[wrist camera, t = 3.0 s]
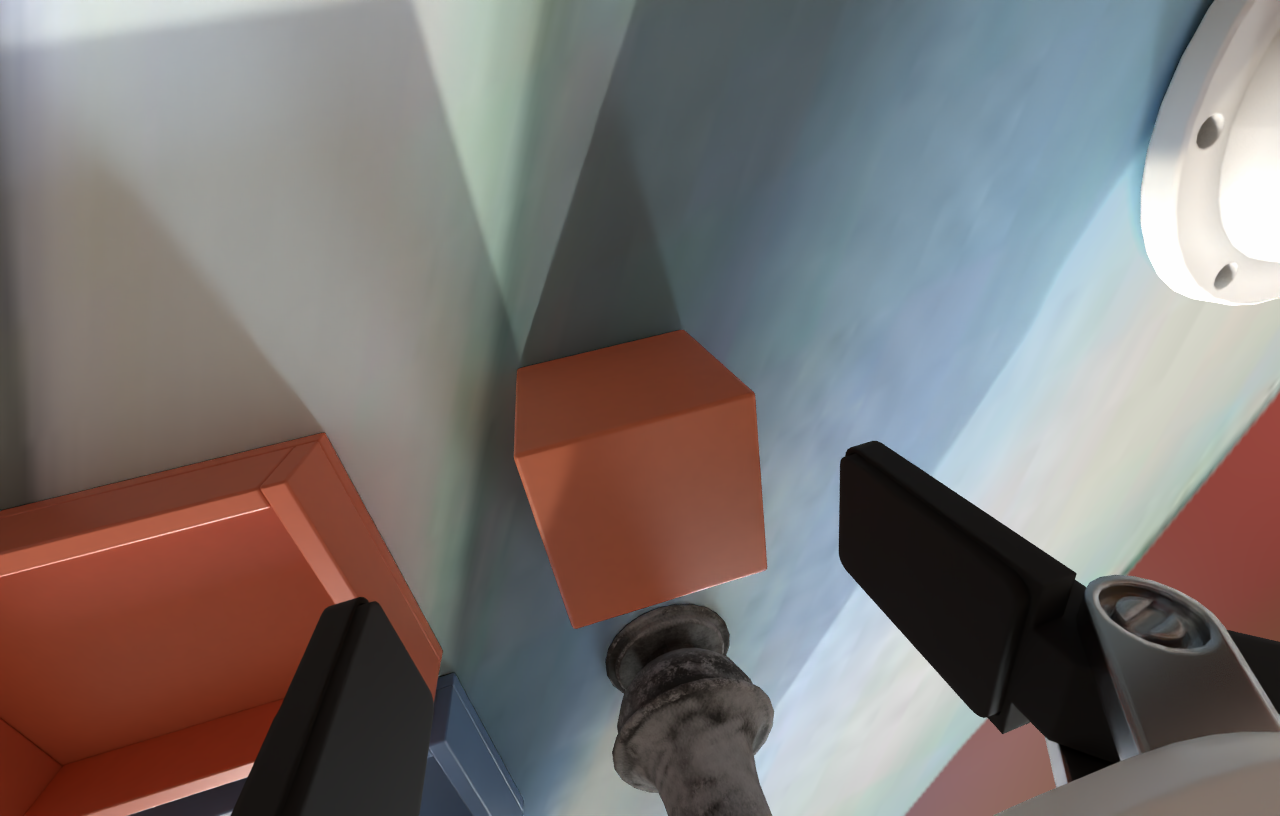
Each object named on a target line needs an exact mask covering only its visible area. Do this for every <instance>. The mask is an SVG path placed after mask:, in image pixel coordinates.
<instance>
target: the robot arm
mask: <svg viewBox="0 0 1280 816" xmlns="http://www.w3.org/2000/svg"><path fill="white" fill-rule="evenodd" d="M1141 228H1142V233H1143V238H1144V243H1145V248H1146V253H1147V255H1148V257H1149V259H1150V261H1151V263H1152V265H1153V267H1154V269H1155V271H1156V273H1157V275H1158V276H1159V277H1160V278H1161V279H1162V280H1163V281H1164V282H1165V283H1166V284H1167V285H1168V286H1169V287H1170V288H1171V289H1172V290H1173V291H1175V292H1178V293H1180V294H1182V295H1184V296H1187V297H1189V298H1191V299H1196V300H1202V301H1209V302H1215V303H1220V304H1226V305H1253V304H1259V303H1262V302H1266V301H1270V300H1273V299H1277V298H1280V0H1214V1H1213V3H1212V4H1211V6H1210V7H1209V9H1208V10H1207V12H1206V14H1205V16H1204V18H1203V19H1202V21H1201V23H1200V25H1199V26H1198V28H1197V30H1196V32H1195V34H1194V35H1193V37H1192V39H1191V41H1190V43H1189V44H1188V46H1187V48H1186V50H1185V52H1184V53H1183V55H1182V57H1181V59H1180V62H1179V64H1178V66H1177V69H1176V71H1175V73H1174V76H1173V78H1172V80H1171V83H1170V85H1169V87H1168V89H1167V92H1166V94H1165V96H1164V99H1163V101H1162V103H1161V106H1160V109H1159V113H1158V116H1157V119H1156V123H1155V126H1154V129H1153V132H1152V136H1151V139H1150V142H1149V146H1148V149H1147V154H1146V160H1145V166H1144V173H1143V179H1142V185H1141ZM839 557H840V560H841V563H842V565H843V566H844V568H845V569H846V571H847V572H848V573H849V574H850V575H851V576H852V577H853V579H854V580H855V581H856V582H857V583H858V584H859V585H860V586H861V588H862V589H863V590H864V591H865V592H866V593H867V594H868V595H869V596H870V598H871V599H872V600H873V601H874V602H875V603H876V604H877V605H878V606H879V608H880V609H881V610H882V611H883V612H884V613H885V614H886V615H887V617H888V618H889V619H890V620H891V621H892V622H893V623H894V624H895V625H896V627H897V628H898V629H899V630H900V631H901V632H902V633H903V634H904V635H905V637H906V638H907V639H908V640H909V641H910V642H911V643H912V644H913V646H914V647H915V648H916V649H917V650H918V651H919V652H920V653H921V654H922V656H923V657H924V658H925V659H926V660H927V661H928V662H929V663H930V664H931V666H932V667H933V668H934V669H935V670H936V671H937V672H938V673H939V675H940V676H941V677H942V678H943V679H944V680H945V681H946V682H947V683H948V685H949V686H950V687H951V688H952V689H953V690H954V691H955V692H956V693H957V695H958V696H959V697H960V698H961V699H962V700H963V701H964V702H965V704H966V705H967V706H968V707H969V708H970V709H971V710H972V711H973V712H974V713H975V714H977V715H978V716H980V717H983V718H985V717H987V718H988V719H989V720H990V721H991V722H992V723H993V724H994V725H995V726H996V727H997V728H998V730H999V731H1000V732H1001V733H1002V734H1004V733H1007V732H1009V731H1011V730H1013V729H1016V728H1018V727H1021V726H1023V725H1025V724H1028V723H1029V722H1031V723H1032V724H1033V725H1034V726H1035V727H1036V728H1037V729H1038V730H1039V731H1040V732H1041V733H1042V734H1043V735H1044V736H1045V739H1046V743H1047V748H1048V752H1049V757H1050V761H1051V766H1052V770H1053V775H1054V779H1055V784H1056V788H1055V789H1053V790H1050V791H1048V792H1046V793H1043V794H1041V795H1038V796H1036V797H1034V798H1031V799H1029V800H1027V801H1025V802H1022V803H1020V804H1018V805H1016V806H1013V807H1011V808H1009V809H1007V810H1004V811H1002V812H1000V813H998V814H996V815H993V816H1280V642H1278V641H1273V640H1269V639H1264V638H1260V637H1256V636H1251V635H1247V634H1242V633H1238V632H1234V631H1230V630H1226V629H1225V627H1224V626H1223V625H1222V623H1221V622H1220V621H1219V620H1218V619H1217V618H1216V616H1215V615H1214V614H1213V613H1212V612H1211V611H1209V610H1208V609H1206V608H1205V607H1204V606H1202V605H1201V604H1200V603H1199V602H1197V601H1196V600H1194V599H1192V598H1191V597H1189V596H1187V595H1185V594H1183V593H1181V592H1179V591H1178V590H1176V589H1173V588H1170V587H1168V586H1165V585H1163V584H1160V583H1158V582H1155V581H1151V580H1147V579H1143V578H1138V577H1134V576H1122V575H1111V576H1104V577H1099V578H1097V579H1095V580H1093V581H1091V582H1090V583H1089V585H1088V586H1087V588H1086V587H1085V586H1084V585H1082V584H1081V583H1079V582H1078V581H1076V580H1075V577H1076V574H1077V573H1075V572H1074V571H1072V570H1071V569H1069V568H1068V567H1066V566H1065V565H1063V564H1062V563H1060V562H1059V561H1057V560H1056V559H1054V558H1053V557H1051V556H1050V555H1048V554H1047V553H1045V552H1044V551H1042V550H1041V549H1039V548H1038V547H1036V546H1035V545H1033V544H1032V543H1030V542H1029V541H1027V540H1026V539H1024V538H1023V537H1021V536H1020V535H1018V534H1017V533H1015V532H1014V531H1012V530H1011V529H1009V528H1008V527H1006V526H1005V525H1003V524H1002V523H1000V522H999V521H997V520H996V519H994V518H993V517H991V516H990V515H988V514H987V513H985V512H984V511H982V510H981V509H980V508H978V507H977V506H975V505H974V504H972V503H971V502H969V501H968V500H966V499H965V498H963V497H962V496H960V495H959V494H957V493H956V492H954V491H953V490H951V489H950V488H948V487H947V486H945V485H944V484H942V483H941V482H939V481H938V480H936V479H935V478H933V477H932V476H930V475H929V474H927V473H926V472H924V471H923V470H921V469H920V468H918V467H917V466H915V465H914V464H912V463H911V462H909V461H908V460H906V459H905V458H903V457H902V456H900V455H899V454H897V453H896V452H894V451H893V450H891V449H890V448H888V447H887V446H885V445H884V444H882V443H881V442H878V441H871V442H867V443H864V444H861V445H858V446H854V447H851V448H849V449H848V450H847V452H846V455H845V457H843V458H842V459H841V462H840V506H839ZM433 715H434V702H433V697H432V693H431V691H430V689H429V687H428V686H427V684H426V682H425V681H424V679H423V677H422V675H421V674H420V672H419V670H418V669H417V667H416V665H415V663H414V662H413V660H412V658H411V657H410V655H409V653H408V652H407V650H406V648H405V646H404V645H403V643H402V641H401V640H400V638H399V636H398V634H397V633H396V631H395V629H394V628H393V626H392V624H391V622H390V621H389V619H388V617H387V616H386V614H385V612H384V610H383V609H382V607H381V605H380V604H379V603H378V602H376V601H373V602H369V601H368V600H367V599H366V598H364V597H358V598H354V599H351V600H348V601H345V602H341V603H338V604H335V605H331V606H328V607H327V608H325V609H324V611H323V612H322V614H321V616H320V618H319V621H318V623H317V625H316V628H315V630H314V632H313V634H312V637H311V639H310V641H309V643H308V646H307V648H306V650H305V652H304V655H303V657H302V659H301V661H300V664H299V666H298V668H297V670H296V673H295V675H294V677H293V679H292V682H291V684H290V686H289V688H288V691H287V693H286V695H285V697H284V700H283V702H282V704H281V707H280V709H279V711H278V712H277V714H276V716H275V717H274V719H273V721H272V724H271V726H270V728H269V730H268V733H267V735H266V737H265V739H264V742H263V744H262V746H261V748H260V751H259V753H258V755H257V757H256V760H255V762H254V764H253V766H252V769H251V771H250V773H249V775H248V777H247V780H246V782H245V784H244V786H243V789H242V791H241V793H240V795H239V798H238V800H237V802H236V804H235V807H234V809H233V811H232V813H231V816H419V814H420V807H421V799H422V792H423V785H424V778H425V771H426V764H427V757H428V750H429V743H430V736H431V729H432V722H433Z"/></svg>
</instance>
